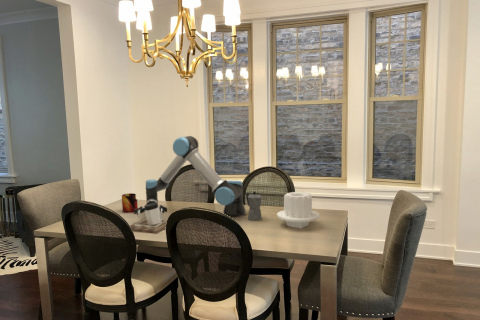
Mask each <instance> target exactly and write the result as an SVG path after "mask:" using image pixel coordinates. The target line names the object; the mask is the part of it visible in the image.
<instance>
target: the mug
mask: <svg viewBox="0 0 480 320" xmlns="http://www.w3.org/2000/svg"><path fill="white" fill-rule="evenodd" d="M121 206H122V213H124V214H129V213H130V214H131V213H134V210H135V209H137V208H139V207H138V206H139V205H138V199H137V194H136V193H133V192H132V193H131V192H130V193H124V194H122V195H121Z"/></svg>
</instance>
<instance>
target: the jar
mask: <svg viewBox="0 0 480 320" xmlns="http://www.w3.org/2000/svg"><path fill="white" fill-rule="evenodd" d="M143 208H145V212H144V214H145V218H146V219H147V223H148V225H156V224H159V223H161V222H162V215H161V212H160V209H159V202H158V203H150V204H147V205H146V204H144V207H143Z"/></svg>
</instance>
